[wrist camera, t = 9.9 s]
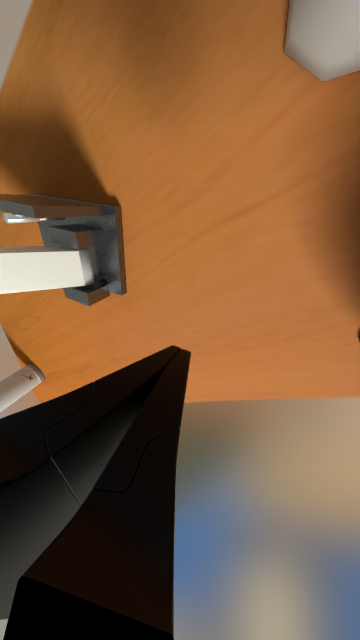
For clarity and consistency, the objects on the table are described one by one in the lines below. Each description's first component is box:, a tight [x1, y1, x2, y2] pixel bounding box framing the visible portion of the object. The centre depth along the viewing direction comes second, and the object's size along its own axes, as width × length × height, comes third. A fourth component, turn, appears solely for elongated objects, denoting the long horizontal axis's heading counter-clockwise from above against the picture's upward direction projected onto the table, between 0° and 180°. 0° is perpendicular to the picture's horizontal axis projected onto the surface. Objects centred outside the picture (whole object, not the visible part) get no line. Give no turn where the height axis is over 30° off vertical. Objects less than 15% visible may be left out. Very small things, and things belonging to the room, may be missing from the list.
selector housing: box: [0, 194, 127, 306], centre depth 22 cm, size 13×11×9 cm
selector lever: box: [0, 246, 95, 294], centre depth 20 cm, size 4×4×15 cm
